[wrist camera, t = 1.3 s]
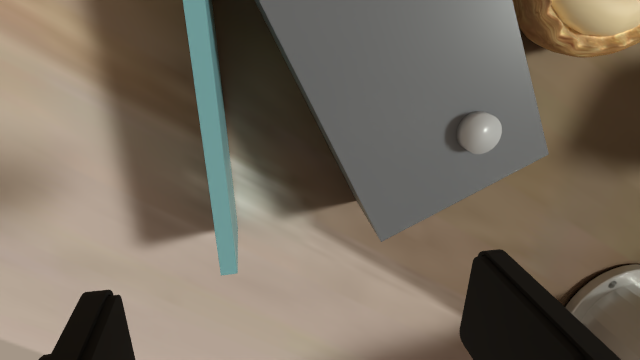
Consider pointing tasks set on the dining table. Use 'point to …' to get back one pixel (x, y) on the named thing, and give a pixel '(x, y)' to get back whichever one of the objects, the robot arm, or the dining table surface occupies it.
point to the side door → (213, 128)
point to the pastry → (580, 25)
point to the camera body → (413, 97)
